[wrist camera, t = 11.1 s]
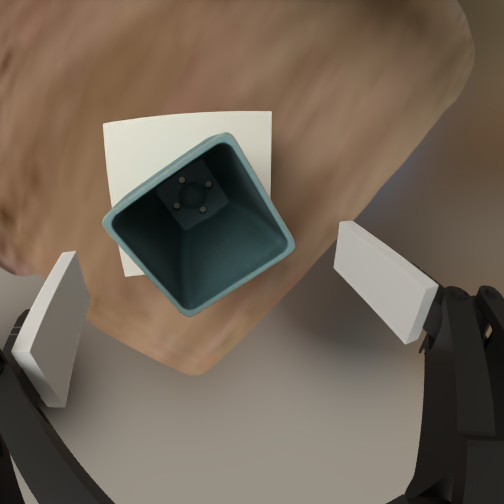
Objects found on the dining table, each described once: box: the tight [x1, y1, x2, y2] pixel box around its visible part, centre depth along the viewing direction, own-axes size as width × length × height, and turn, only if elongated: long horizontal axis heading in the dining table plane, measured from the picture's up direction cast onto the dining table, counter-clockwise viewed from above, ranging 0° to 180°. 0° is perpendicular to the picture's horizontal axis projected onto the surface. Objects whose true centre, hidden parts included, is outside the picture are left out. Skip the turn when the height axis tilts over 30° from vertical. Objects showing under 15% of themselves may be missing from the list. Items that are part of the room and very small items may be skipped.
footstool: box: [103, 111, 272, 277], centre depth 28 cm, size 14×14×8 cm
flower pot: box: [102, 132, 296, 317], centre depth 21 cm, size 9×9×9 cm
